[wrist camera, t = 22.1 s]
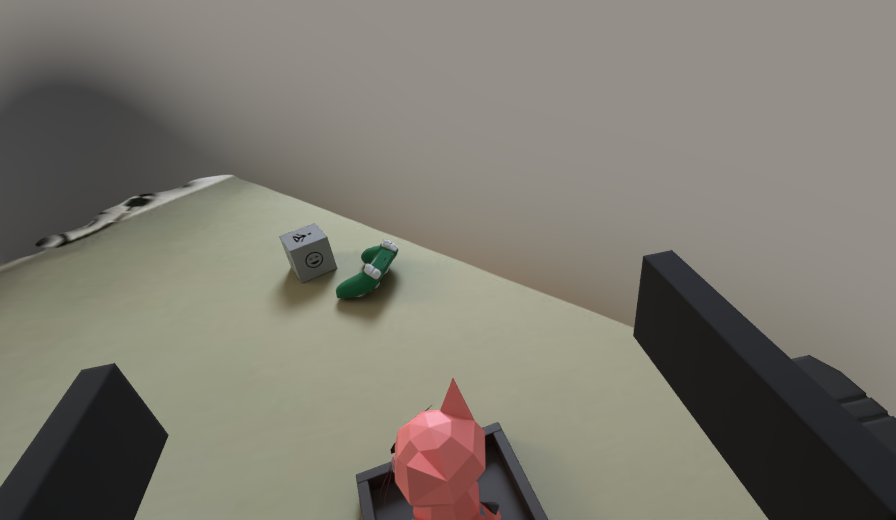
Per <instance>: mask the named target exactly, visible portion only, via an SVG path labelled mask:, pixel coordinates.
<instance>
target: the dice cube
mask: <svg viewBox="0 0 896 520" xmlns="http://www.w3.org/2000/svg"><path fill="white" fill-rule="evenodd" d="M279 237H280V240H281V242H282V245H283V247H284V250H285V253H286V255H287V258H288V260H289V263H290V266H291V268H292V269H293V271H294V272H295V274H296V275H297V277H298V278H299V280H300V282H301V283H303V282H306V281H308V280H310V279H313V278H315V277H318V276H320V275H322V274H325V273H327V272H329V271H332V270H334V269H337V266H336V263H335V260H334V257H333V253H332V250H331V247H330V244H329V241H328V238H327V236H326V235H325V234H324V233H323V231H322V230H321V229H320V228H319V227H318V226H317V225H316V224H315V223H313V224H311V225H308V226H305V227H303V228H300V229H297V230H295V231H292V232H289V233H287V234H284V235H281V236H279Z"/></svg>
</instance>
